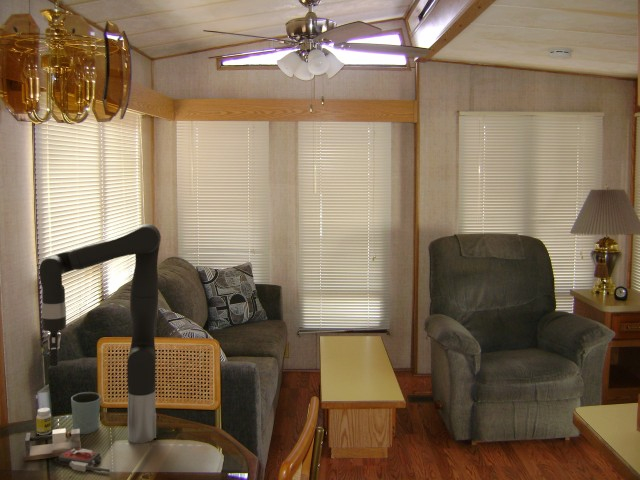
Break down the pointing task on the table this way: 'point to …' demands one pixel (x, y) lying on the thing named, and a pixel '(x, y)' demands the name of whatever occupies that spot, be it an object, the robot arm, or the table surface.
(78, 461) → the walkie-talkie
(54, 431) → the sleeve
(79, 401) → the blue-grey cylindrical pot
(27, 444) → the linear slider rail
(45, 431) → the supplement bottle
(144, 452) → the table surface
